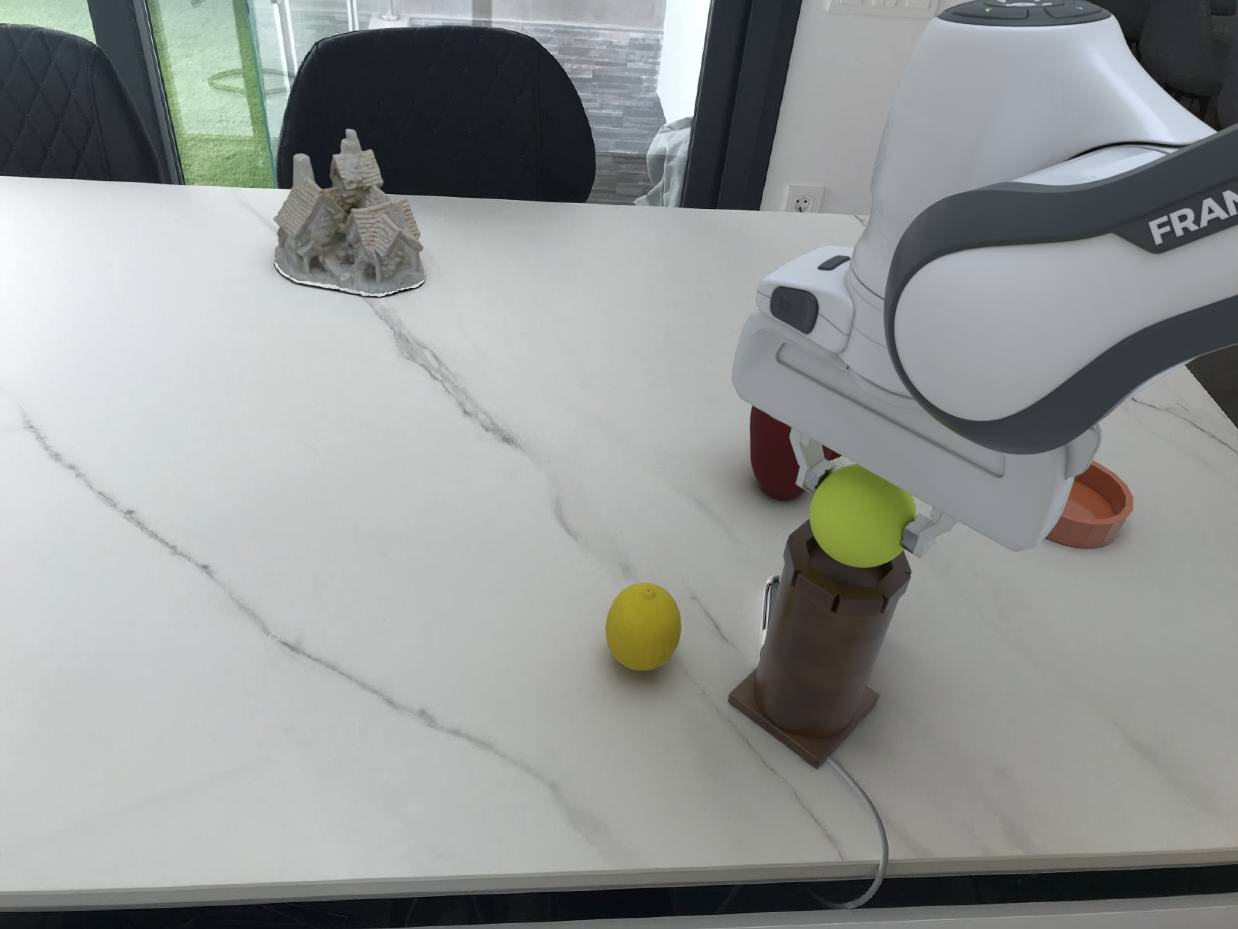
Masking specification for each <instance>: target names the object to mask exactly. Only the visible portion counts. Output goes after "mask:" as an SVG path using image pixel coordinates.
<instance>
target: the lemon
mask: <svg viewBox="0 0 1238 929" xmlns="http://www.w3.org/2000/svg"><path fill="white" fill-rule="evenodd" d="M681 618H682V617H681V612H680V608H679V606H678V604H677V602H676V599H675V598H674V597H673V595H672V594H671V593H670V592H669V591H668V590H666V589H665V588H663V587H662V586H660V585H658V584H655V583H650V582H638V583H633V584H631V585H629V586H627V587H625V588H624V589H622V590H621V591H620V592H619V593H618V594H617V595H616V596H615V598H614V600H613V601H612V603H611V605H610V607H609V609H608V612H607V616H606V620H605V621H606V622H605V630H604V631H605V640H606V644H607V646H608V649H609V650H610V652H611V654H612V656H613V657H614V658H615V659H616V660H617V662H618V663H620V664H621V665H622V666H624V667H625V668H628V669H630V670H633V671H638V672H647V671H651V670H655V669H657V668H659V667H661V666H663V665H664V664H665V663H667V662H668V661H669V660H670V659H671V657H672V656H673V654H674V653H675V651H676V650H677V648H678V646H679V642H680V638H681V634H682V619H681Z"/></svg>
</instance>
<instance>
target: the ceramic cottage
mask: <svg viewBox="0 0 1238 929" xmlns="http://www.w3.org/2000/svg"><path fill="white" fill-rule="evenodd" d="M345 137H346V138H343V139H341V143H340V153H338V154H332V160H331V162H330V174H329V178H330V180H331V183H332V184H331V187H328V188H321V187H320V186H319V185H318V184H317V183H316V181H315V174H314V171H313V167H312V162H311V159H310V156H309V155H307V154H305V153H296V154H294V155H293V160H292V161H293V163H292V164H293V167H292V168H293V173H292V183H293V184H292V187H291V190H290V191H289V194H288V196H287V197H286V199H285V200H284V201H283V203H282V206H281V208H280V209H279V210H278V211H277V215H275V216H274V217H273V218H272V220H273V221H274V222H275V223H276V225H277V226H278V227H279V228H278V230H277V232H276V235H277V242H278V244H277V246H276V247H275V248H274V262H275V261H276V263H277V264H278V267H279V268H280V269H281V270H282V271H283V272H284V273H285V274H287V275H289V277H291V278H294V279H296V280H298V281H310V282H313V283H315V282H316V283H318V282H319V283H321V284H331V285H336V286H338V287H340V288H348V289H351V290H356V291H359V292H360V291H363V292H365V293H369V294H370V293H371V294H375V293H376V294H377V293H378V294H380V293H383V294H384V293H385V292H387V293H389V292H390V291H391V292H392V291H397V289H401V288H407V287H411V286H412V285H413V286H414V285H415V284H418V283H419V282H421V281H423V280H424V278H425V279H426V274H425V275H424V273H425V270H424V267H423V264H421V263H422V260H421V261H420V259H421V256H420V253H421V252H422V251H423V250H424V246H423V245H422V243H421V242H420V240H419V239H420V238H421V231H420V229H419V227H418V225H417V221H416V219H415V216H414V214H413V212H412V207H411V204H410V202H409V200H408V199H409V198H408V197H407V195H405V196H402V197H392V198H391V199H390V198H389V195H387V194H386V193H385V192H384V191H383V190H382V189H381V187H383V185H384V179H383V178H382V175H381V171H380V167H379V165H378V162H377V160H376V157H375V153H374V151H373V150H372V149H367V150H364V151H363V150H362V147H361V143H360V140H359V138H358V135H357V131H356V130H354V129H351V128H346V129H345ZM275 258H276V259H275ZM422 267H423V268H422Z"/></svg>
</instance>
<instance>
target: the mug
mask: <svg viewBox="0 0 1238 929" xmlns="http://www.w3.org/2000/svg"><path fill="white" fill-rule="evenodd" d="M791 428H792V427H790V426H788V425H787V424H785V423H783V422H781V421H780V420H778V419H776V418H774V417H772V416H771V415H769V414H767V413H765V412H764V411H762V410H760V409H758V408H756V407H755V406H753V405H751V408H750V416H749V448H750V449H749V456H750V459H749V460H750V466H751V469H752V472H753V474H754V477H755V480H756V482H757V483H758V486H759V488H760V489H761V491H762V492H763V493H764V494H765V495H767V496H769V497H771V498H773V499H776V500H779V501H780V500H781V501H788V500H794V499H797V498H798V497H799V496H801V495H802V494H803V493H804V492H806V490H804V489H803V488H801V487H799V486H798V485H796V481H797V477H798V472H799V468H800V465H798V462H797V459H796V456H795V453H794V450H793V447H792V444H791V441H790V438H789V437H790V433H791ZM822 448H823V453H824V459H826V460H828V461H829V462H832V461H834V460H836V459H839V458H841V457H843V456H842V455H840V454H838V453H836V452H835V451H833V450H831V449H829V448H828V447H826V446H824V445H822Z"/></svg>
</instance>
